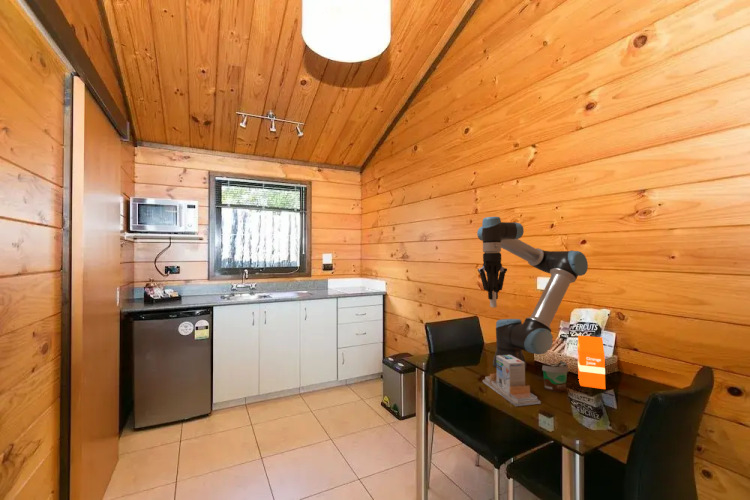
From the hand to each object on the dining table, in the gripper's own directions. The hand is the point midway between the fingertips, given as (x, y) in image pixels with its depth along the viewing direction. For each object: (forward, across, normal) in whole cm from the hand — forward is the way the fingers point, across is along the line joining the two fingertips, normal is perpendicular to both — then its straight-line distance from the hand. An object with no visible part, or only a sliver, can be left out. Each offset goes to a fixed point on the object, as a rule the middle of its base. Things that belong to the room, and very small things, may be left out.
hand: (493, 306), depth 144 cm
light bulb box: (+30, 0, -11) cm, 32 cm away
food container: (+33, +21, -13) cm, 41 cm away
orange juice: (+33, +38, -11) cm, 51 cm away
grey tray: (+32, 0, -11) cm, 34 cm away
